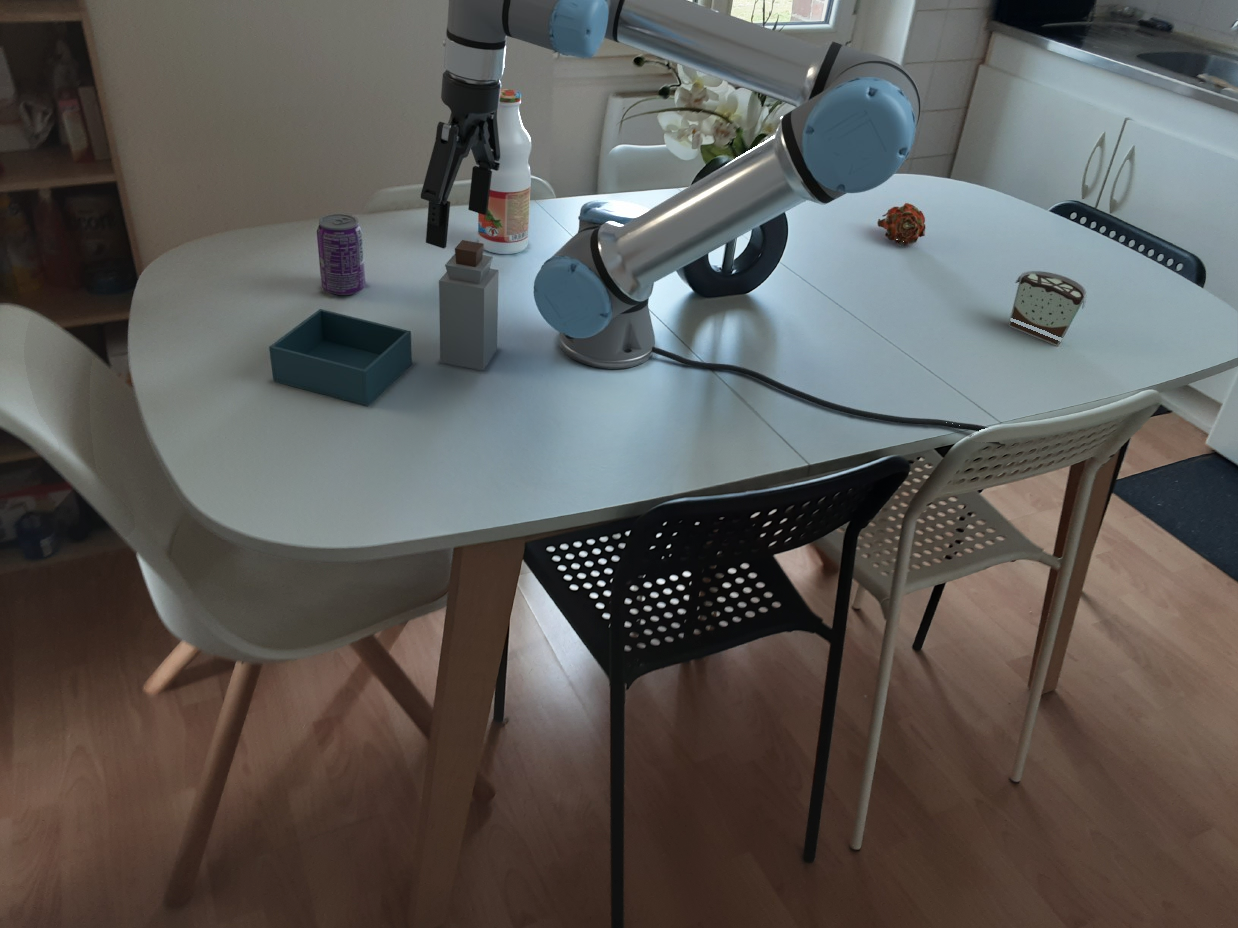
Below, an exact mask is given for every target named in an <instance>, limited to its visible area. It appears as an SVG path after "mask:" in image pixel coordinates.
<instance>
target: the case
mask: <svg viewBox="0 0 1238 928" xmlns="http://www.w3.org/2000/svg"><path fill="white" fill-rule="evenodd" d="M268 351H269V358H270V365H271V373H272V378H273V379H272V381H273V382H275V383H278V384H283V385H286V386H290V387H294V388H297V389H300V390H301V389H302V390H306V391H309V392H313V393H316V394H320V395H324V396H328V397H331V398H335V399H339V400H343V401H347V402H350V403H354V404H358V405H360V406H361V405H362V406H364V407H369V406H370V405H371V404H372V403H373V402H374V401H375V400H377V398H378V397H380V396H381V394H383V393H384V392H385V391H386V390H387V389H388V388H389V387H390V386H391V385H392V384H393V383H395V381H396V380H397V379H398V378H399V377H400V376H401V375H403V374H404V373H405V372H406V371H407V370H408V369H409V368H410V367H411V366H412V365H413V358H412V357H413V356H412V331H411V330H407V329H404V328H399V327H396V326H392V325H387V324H383V323H381V322H376V321H371V320H366V319H363V318H358V317H355V316H350V315H348V314H343V313H339V312H335V311H330V310H326V309H324V308H323V309H322V308H319V309H317V310H316V311H315V312H314V313H312V314H311V315H310V316H308V317H307V318H306V319H304V320H302V321H301V322H300V323H299V324H298V325H296V326H294V328H292V329H291V330H290V331H288V332H287V333H285V334H284V335H283V336H282V337H280V338H279V339H277V340H276V341H274V343H272V344H270V345H269V346H268Z"/></svg>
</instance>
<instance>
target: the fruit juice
mask: <svg viewBox="0 0 1238 928" xmlns="http://www.w3.org/2000/svg"><path fill="white" fill-rule="evenodd" d="M521 103H522V93H521V92H520V91H518V90H515V89H510V88H501V92H500V101H499V107H498V109H497V125H498V135H499V145H500V159H499V161H495V162H497V163H500V167H499V170H498V171H496V170H493V169H491V171H492V177H491V186H490V194H489V203H488V211H487V214H486V215H483V214H480V213H477V214H478V215H477V216H478V219H477V220H478V221H477V241H478V243H483V244H484V247H483V250H485V251H487V252H489V253H492V254H499V255H513V254H517V253H521V252H523V251H525V249H527V247H528V244H529V232H530V231H529V230H530V210H531V209H530V205H531V185H532V175H531V172H532V171H531V167H530V164H529V159H530V155H531V153H532V140H531V139H532V138H531V136H530V134H529V132H528V131H527V129H525V127H524V125H523V122H522V118H521V114H520V105H521ZM491 150H492V149H491ZM492 151H493V150H492Z"/></svg>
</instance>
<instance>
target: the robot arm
mask: <svg viewBox="0 0 1238 928" xmlns="http://www.w3.org/2000/svg"><path fill="white" fill-rule="evenodd" d="M446 23H447V25H446V33H445V34H446V35H445V38H444V40H443V41H442V45H443V47H444V58H443V59H444V60H443V68H444V69H445V71H444V72H442V79H441V89H440V90H441V91H440V99H441V102H442V104H444V105H445V106H447V107H448V109H449V111H450V115H449V116H450V117H449V119H448V122H447V123H446V122H444V121H438V123H437V125H436V126H437V127H436V132H435V141H434V143H433V144H434V145H433V148H432V151H431V156H430V160H429V162H428V166H427V170H426V174H425V178H424V180H423V185H422V187H421V192H420V199H422V200H424V201H427V202H428V206H427V207H428V209H427V221H426V234H425V244H429V245H431V246H434V247H438V248H439V249H440V248H441V249H443V250H444V249H446V248H447V245H448V244H447V243H448V230H449V220H450V210H451V201H449V197H450V194H451V193H452V189H453V186H454V183H455V181H456V178H457V175H458V173H459V170H460V167H461V165H462V162H463V160H464V159H465V158H467V157H468V156H469V154H470V152H471V153H472V155H473V159H474V161H475V164H476V165H474V166H473V167H472V171H471V180H470V189H469V199H468V209H467V210H468V211H471V212H474V213H476V214H478V213H480V214H483V215H486V214H487V211H488V203H489V194H490V186H491V177H492V171H491V169H493V170H496V171H498V170H499V167H500V163H497V162H495V161H499V159H500V145H499V135H498V125H497V109H498V107H499V101H500V92H501V89H502V82H501V80H500V79H501V78H503V76H504V68H505V60H506V49H507V39H508V38H512V39H516V40H519V41H521V42H525V43H528V44H530V45H535V46H538V47H541V48H543V49H546V50H550V51H553V52H556V53H558V54H561V55H563V56H566V57H569V56H570V57H576V58H581V59H585V60H586V59H591V58H592V57H594V56H595V55H596V54H597V53H598V51H599V49H600V48H601V46H602V44H603V42H604V39H607V40H609V41H612V42H615V43H618V44H622V45H625V46H627V47H630V48H633V49H636V50H638V51H641V52H644V53H647V54H650V55H652V56H655V57H659V58H661V59H663V60H666V61H668V62H671V63H674V64H677V65H680V66H683V67H685V68H688V69H691V70H693V71H695V72H699V73H702V74H705V75H707V76H710V77H713V78H717V79H719V80H722V81H724V82H727V83H730V84H732V85H735V86H738V87H740V88H744V89H746V90H749V91H752V92H754V93H756V94H760V95H763V96H764V97H765V96H766V97H769V98H772V99H774V100H777V101H779V102H782V103H784V104H787V105H790V106H793V107H794V109H792V110H790V111H789V112H787V113H785V114H784V115H782V116H781V117H780V118H779V120H778V125H777V128H776V131H775V134H774V135H773V136H771V137H770V138H768V139H767V140H765V141H764V142H762V143H759V144H758V145H757V146H755V147H753V148H752V149H750V150H748V151H746V152H745V153H743V154H741V155H740V156H738V157H736V158H735V159H733V160H731V161H729V162H728V163H727V164H725V165H723V166H722V167H720V168H718V169H716V170H715V171H713V172H711V173H710V174H708V175H705V177H703V178H701V179H699V180H697V181H696V182H693V184H691V185H689V186H688V187H685V188H683V190H681V191H679V192H678V193H676V194H673V196H671V197H669V198H667V199H666V200H664V201H662V202H661V203H659V204H657V205H655V206H654V207H652V208H650V209H648V208H646V207H644V206H641V205H638V204H634V203H630V202H625V201H620V200H609V199H608V200H607V199H601V200H600V199H598V200H591V201H588V202H586V203H584V204H582V206H581V207H580V211H579V215H578V217H577V219H578V230H577V233H575V234H574V236H572V237H571V238H570V239H569V240H567V242H566V243H565V244H564V245H562V246H561V248H560V249H558V250H557V252H555V253H553V255H552V256H551V257H549V258H547V259H546V260H545V261H544V262H543V264H542V265H541V266H540V269H539V271H538V272H537V273H536V276H535V279H534V282H533V299H534V303H535V305H536V308H537V310H538V312H539V313H540V316H542V318H543V320H544V321H545V322H546V323H547V324H548V325H549V326H550V327H551V328H552V329H554V330H555V331H557V332H559V338H558V339H559V340H558V345H559V347H560V349H561V350H562V352H563V353H564V355H566V356H567V357H569V358H571V359H572V360H574V361H576V362H578V363H580V364H583V365H586V366H589V367H593V368H598V369H607V370H609V369H610V370H618V369H620V370H621V369H628V368H633V367H636V366H637V367H638V366H640V365H642V364H644V363H646V362H648V361H649V360H650V359H651V358H652V356H653V355H654V354H656V355H659V356H663V357H664V358H668V359H671V360H673V361H675V362H678V363H681V364H683V365H686V366H691V367H693V368H694V367H695V368H701V369H708V370H710V369H711V370H720V371H721V370H722V371H729V372H734V373H735V372H736V373H739V374H743V375H746V376H748V377H751V378H755V379H756V380H759V381H761V382H763V383H765V384H767V385H769V386H772V387H774V388H776V389H778V390H780V391H782V392H784V393H787V394H790V395H792V396H795V397H797V398H800V399H802V400H805V401H807V402H810V403H812V404H815V405H818V406H821V407H824V408H827V409H829V410H833V411H836V412H841V413H843V414H844V413H845V414H849V415H851V416H857V417H861V418H866V419H869V420H870V419H871V420H877V421H883V422H884V421H885V422H890V423H897V424H904V425H919V426H920V425H922V426H924V425H925V426H937V427H944V428H951V429H958V430H966V431H973V432H974V431H975V432H979V430H981V429H985V428H989V427H987V426H984V425H981V424H975V423H965V422H957V421H953V420H947V419H939V418H937V419H936V418H924V417H923V418H922V417H906V416H897V415H891V414H885V413H884V414H883V413H878V412H872V411H867V410H862V409H857V408H853V407H849V406H845V405H841V404H838V403H835V402H832V401H828V400H825V399H822V398H819V397H816V396H814V395H811V394H809V393H806V392H804V391H801V390H798V389H796V388H793V387H791V386H788V385H786V384H784V383H781V382H780V381H777V380H775V379H773V378H771V377H769V376H767V375H764V374H762V373H760V372H758V371H756V370H753V369H750V368H746V367H743V366H739V365H734V364H729V363H720V362H719V363H718V362H706V361H700V360H694V359H691V358H687V357H683V356H681V355H679V354H676V353H674V352H670V351H668V350H665V349H663V348H659V347H656V345H655V344H656V336H655V330H654V327H653V323H652V322H653V321H652V318H651V317H652V316H651V313H650V308H649V299H650V298H651V296H652V294H653V289H654V286H655V283H656V282H658V281H660V280H662V279H664V278H666V277H667V276H670V275H671V274H673V273H675V272H677V271H678V270H680V269H683V268H684V267H686V266H688V265H689V264H691V263H693V262H695V261H697V260H698V259H701V258H702V257H705V256H706V255H708V254H710V253H712V252H713V251H715V250H717V249H719V248H721V247H723V246H724V245H726V244H728V243H730V242H732V241H734V240H736V239H738V238H740V237H741V236H743V235H745V234H746V233H749V232H751V231H752V230H754V229H756V228H758V227H760V226H761V225H763V224H765V223H767V222H770V221H771V220H773V219H775V218H777V217H779V216H781V215H782V214H784V213H786V212H787V211H789V210H792V209H794V208H795V207H797V206H799V205H800V204H802V203H805V202H806V201H809V202H812V203H816V204H819V205H821V206H825V205H828V204H829V203H832V202H833V201H835V200H837V199H839V198H842V197H843V196H844V195H847V194H859V193H865V192H869V191H870V190H873V189H875V188H878V187H879V186H881V185H883V184H884V183H885V182H887V181H888V180H889V179H891V177H893V176H894V175H895V174H896V173H897V172H898V171H899V170H900V168H901V167H902V166H903V164H904V163H905V161H906V160H907V159H908V157H909V155H910V152H911V150H912V148H913V145H914V142H915V137H916V136H915V135H916V129H917V126H918V123H919V121H920V117H921V110H922V99H921V93H920V89H919V86H918V85H917V83H916V81H915V78H914V77H913V76H912V74H911V73H910V72H909V71H908V70H907V69H906V68H905V67H903V66H902V65H901V64H900V63H898V62H896V61H894V60H892V59H890V58H887V57H885V56H881V55H877V54H874V53H871V52H868V51H866V50H865V51H864V50H861V49H858V48H854V47H851V46H848V45H844V44H842V43H839V42H836V41H833V40H829V41H827V42H826V43H823V44H821V45H817V44H815V43H812V42H809V41H806V40H803V39H800V38H798V37H794V36H791V35H788V34H786V33H783V32H779V31H777V30H774V29H771V28H768V27H766V26H762V25H759V24H757V23H754V22H751V21H748V20H746V19H742V18H740V17H737V16H735V15H734V16H733V15H732V14H731V15H730V14H727V13H725V12H723V11H719V10H716V9H714V8H711V7H707V6H705V5H702V4H699V3H697V2H694V1H691V0H448V8H447V22H446ZM507 37H508V38H507ZM491 149H492V150H493V151H492V150H491ZM946 422H947V423H946ZM952 423H953V424H952ZM959 425H960V426H959Z"/></svg>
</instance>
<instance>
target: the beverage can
mask: <svg viewBox="0 0 1238 928" xmlns="http://www.w3.org/2000/svg"><path fill="white" fill-rule="evenodd" d="M362 230H363V229H362V228H361V226H360V225H359V219H358V217H356V216H354V215H351V214H348V213H329V214H326V215H325V214H324V215H323V216H321V217H320V218H319V219H318V226H317V228H316V239H317V240H316V241H317V250H318V251H317V252H318V264H319V272H320V273H319V274H320V284H321V288H322V289H323V290H324V291H326V292H328V293H331V294H333V295H337V296H350V295H354V294H356V293H358V292H360V291H362V290H363V289H364V288H366V273H365V271H366V270H365V257H364V240H363V231H362Z"/></svg>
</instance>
